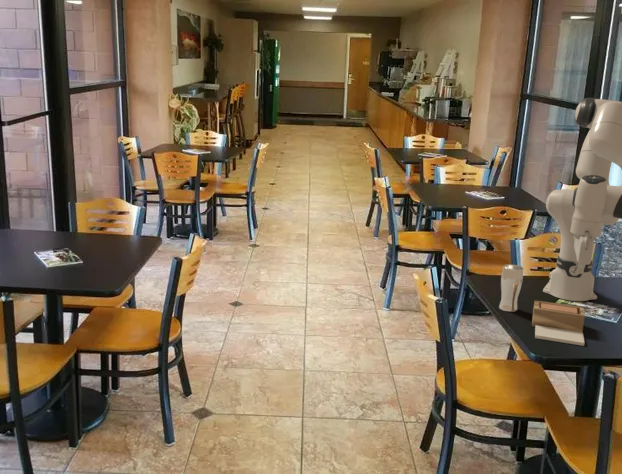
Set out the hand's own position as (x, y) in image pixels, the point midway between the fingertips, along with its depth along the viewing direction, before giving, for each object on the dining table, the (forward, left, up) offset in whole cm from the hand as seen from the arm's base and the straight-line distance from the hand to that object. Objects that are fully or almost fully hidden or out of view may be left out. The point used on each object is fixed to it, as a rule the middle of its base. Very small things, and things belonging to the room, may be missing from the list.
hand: (579, 270), depth 205 cm
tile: (0, -4, -15) cm, 15 cm away
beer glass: (-9, -20, -19) cm, 29 cm away
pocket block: (0, -4, -19) cm, 20 cm away
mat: (+10, -4, -19) cm, 22 cm away
